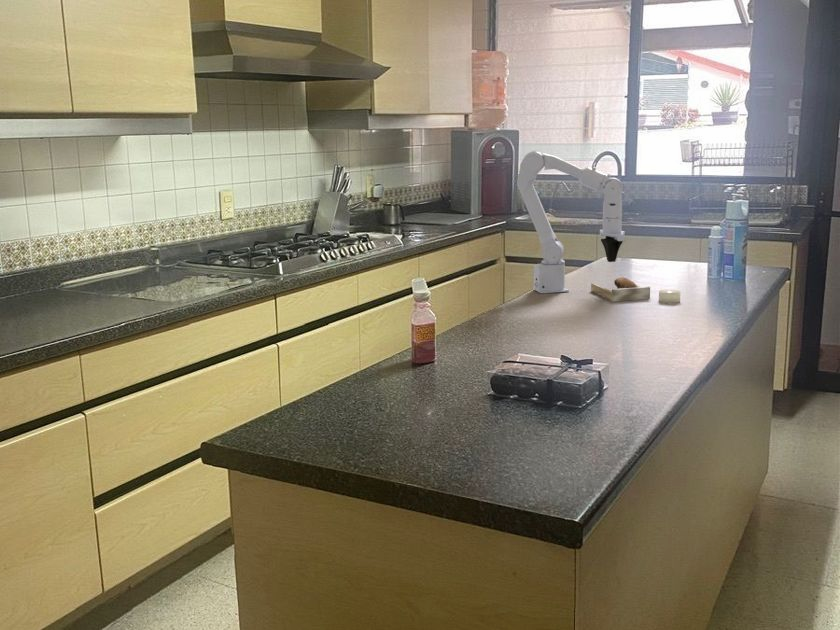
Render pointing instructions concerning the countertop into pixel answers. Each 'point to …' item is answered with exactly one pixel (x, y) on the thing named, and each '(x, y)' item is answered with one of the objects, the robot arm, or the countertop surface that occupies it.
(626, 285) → the mushroom
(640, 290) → the guide fence
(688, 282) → the countertop surface
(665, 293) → the soap bar
